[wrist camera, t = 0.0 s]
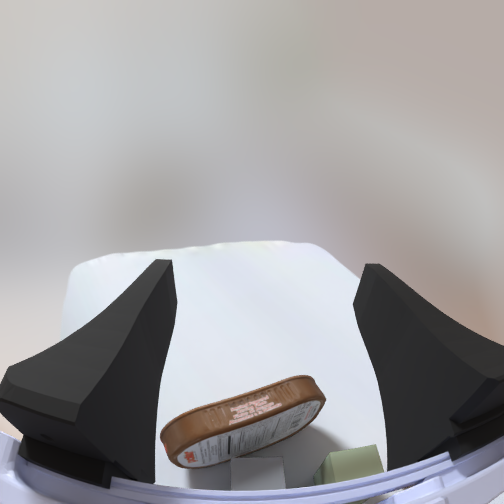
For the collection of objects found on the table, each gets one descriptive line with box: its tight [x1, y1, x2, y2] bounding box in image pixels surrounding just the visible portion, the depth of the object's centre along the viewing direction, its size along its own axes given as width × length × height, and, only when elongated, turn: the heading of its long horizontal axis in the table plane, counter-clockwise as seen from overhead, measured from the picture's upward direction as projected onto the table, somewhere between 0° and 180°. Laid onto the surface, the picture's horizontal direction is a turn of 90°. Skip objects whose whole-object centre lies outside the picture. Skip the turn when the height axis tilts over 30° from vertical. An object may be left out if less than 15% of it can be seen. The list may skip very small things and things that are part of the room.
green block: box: [314, 444, 384, 504], centre depth 18 cm, size 4×4×6 cm
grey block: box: [231, 457, 286, 491], centre depth 19 cm, size 4×4×5 cm
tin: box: [160, 375, 326, 469], centre depth 23 cm, size 15×3×8 cm, turn 116°
